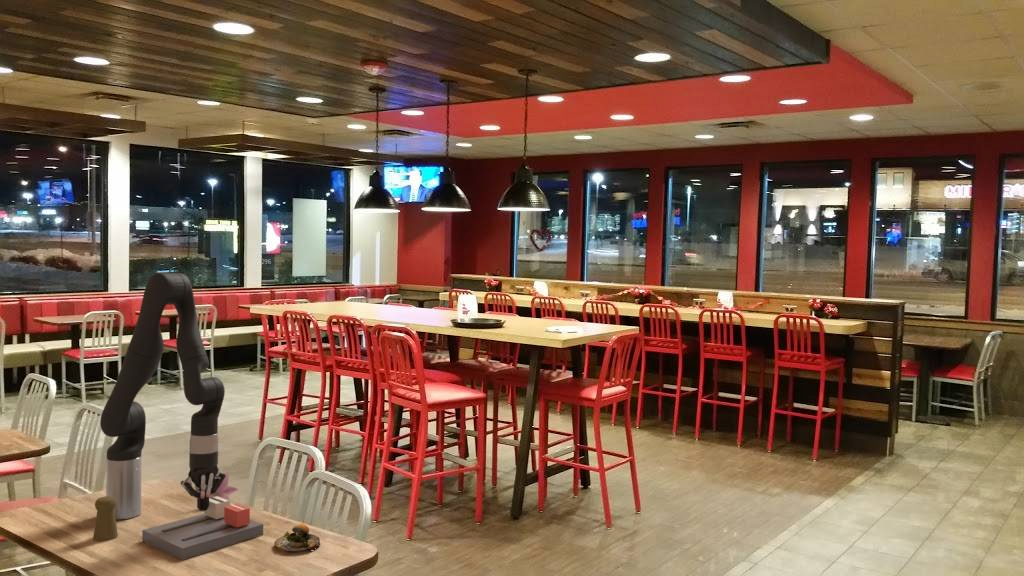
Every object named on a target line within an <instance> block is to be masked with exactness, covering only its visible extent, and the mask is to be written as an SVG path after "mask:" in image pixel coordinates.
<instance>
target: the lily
mask: <svg viewBox="0 0 1024 576" xmlns="http://www.w3.org/2000/svg"><path fill="white" fill-rule="evenodd" d="M223 474H225V475H226V476H225V478H224V480H223V481H222V483H221V485H220V486H219V488H218V489H217V491H216V493H214V494H211V495H210V496H209V498H210V497H216V496H218V497H221V498H223V499H226V500H229V506H230V505H231V501H230V497H229V496H231V495H232V494H234V493H237V492H238V491H239V489H238V488H237V487H234V486H230V485H229V478H230V471H228V470H227V471H224V472H223Z"/></svg>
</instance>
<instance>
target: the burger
mask: <svg viewBox="0 0 1024 576" xmlns="http://www.w3.org/2000/svg"><path fill="white" fill-rule="evenodd" d="M304 521H305V517H304V518H303V521H302V522H304ZM309 529H310V528H309V527H308V525H306V524H304V523H299V524H296V525H294V526H293V527H292V529H291V531H292V532H291V533H290V532H288V530H286V532H284V535H283V536H281V537H279V538H277V539H276V540H275V541H274V544H273V545H275V546H276V547H277V548H279V549H281V550H284V551H286V552H287V551H289V552H302V551H307V550H309V549H310V550H309V551H310V552H312V551H311V550H314V549H315V548H316V549H318V548H317V547H318V546H319V545H320V546H321V541H320V540H321V539H320V537H319V536H317V535H315V534H312V533H309V532H310V530H309ZM314 551H315V550H314Z"/></svg>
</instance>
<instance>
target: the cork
mask: <svg viewBox="0 0 1024 576" xmlns="http://www.w3.org/2000/svg"><path fill="white" fill-rule="evenodd" d="M115 507H116V499H115V498H114V497H111V496H101V497H98V498H97V499H96V500H95V502H94V508H95V509H96V517H95V524H94V530H93V538H92V539H93V541H95V542H107V541H113V540H114V539H117V538H118V536H119V533H118V526H117V519H115V512H114V508H115Z"/></svg>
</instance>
